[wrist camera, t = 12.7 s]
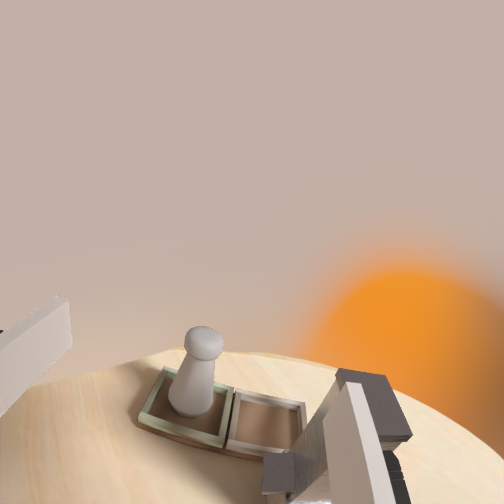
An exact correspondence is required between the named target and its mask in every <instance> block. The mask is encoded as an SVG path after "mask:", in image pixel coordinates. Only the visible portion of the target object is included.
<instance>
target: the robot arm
mask: <svg viewBox="0 0 504 504" xmlns="http://www.w3.org/2000/svg"><path fill="white" fill-rule="evenodd" d="M72 346H73V342H72V335H71V323H70V311H69V300H68V299H65V298H63V297H61V296H59V295H57V296H55V297H54V298H52V299H51V300H49V301H48V302H46V303H45V304H43V305H42V306H40V307H38V308H37V309H35V310H34V311H32V312H31V313H29V314H28V315H27V316H25V317H24V318H22V319H21V320H19V321H18V322H16V323H15V324H14V325H12V326H11V327H9V328H8V329H6V330H5V331H2V330H0V417H1V416H2V415H3V414H4V413H5V412H6V411H7V410H8V409H9V408H10V407H11V406H12V405H13V404H14V403H15V402H16V401H17V400H18V398H19V397H20V396H21V395H22V394H23V393H24V392H25V391H26V390H27V389H28V388H29V387H30V386H31V385H32V384H33V383H34V382H35V381H36V380H37V379H38V378H39V377H40V376H41V375H42V374H43V373H44V372H45V371H46V370H47V369H48V368H49V367H51V365H52V364H54V362H56V361H57V360H58V359H59V358H60V357H61V356H62V355H63V354H64V353H65V352H66V351H67V350H68V349H69V348H70V347H72ZM322 422H323V430H324V438H325V446H326V454H327V463H328V472H329V482H330V492H331V504H411V501H410V498H409V494H408V491H407V487H406V484H405V480H403V478H404V477H403V473H402V472H401V467H400V464H399V460H398V459H397V457H396V456H395V455H394V453H393V452H392V451H391V450H382V449H381V446H380V442H379V439H378V435H377V432H376V429H375V426H374V422H373V419H372V416H371V413H370V410H369V406H368V403H367V400H366V397H365V394H364V391H363V388H362V385H361V384H360V383H352V382H345V384H344V386H343V388H342V389H341V391H340V393H339V395H338V396H337V398H336V400H335V401H334V403H333V405H332V406H331V408H330V409H329V411H328V413H327V414H326V416H325V417H324V419H323V421H322Z"/></svg>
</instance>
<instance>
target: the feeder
mask: <svg viewBox="0 0 504 504" xmlns="http://www.w3.org/2000/svg"><path fill="white" fill-rule="evenodd" d="M335 376H336V380H335V382H334V384H333V386H332V387H331V389H330V390H329V392H328V394H327V395H326V397H325V399H324V400H323V402H322V403H321V405H320V406H319V408H318V410H317V411H316V413H315V414H314V416H313V417H312V419H311V420H310V422H309V423H308V425H307V426H306V428H305V429H304V430H303V432H302V433H301V435H300V436H299V438H298V439H297V440H296V442H295V443H294V444H293V446H292V447H291V449H284V451H283V452H282V453H264V457H263V476H262V495H267V498H266V504H331V492H330V482H329V472H328V463H327V454H326V446H325V438H324V430H323V422H322V421H323V419H324V417H325V416H326V414H327V413H328V411H329V409H330V408H331V406H332V405H333V403H334V401H335V400H336V398H337V396H338V395H339V393H340V391H341V389H342V388H343V386H344V384H345V382H352V383H360V384H361V385H362V388H363V391H364V394H365V397H366V400H367V403H368V406H369V410H370V413H371V416H372V419H373V422H374V426H375V429H376V432H377V435H378V439H379V442H380V446H381V449H382V450H391V451H392V452H393V451H394V450H395V449H396V448H397V447H398V446H399V445H400V444H401V443H402V442H407V441H408V440H409V439H410V438H411V437H412V435H413V434H412V432H411V429H410V427H409V425H408V423H407V420H406V418H405V416H404V414H403V412H402V409H401V407H400V405H399V403H398V401H397V399H396V396H395V394H394V392H393V390H392V388H391V386H390V384H389V382H388V380H387V378H386V376H385V375H378V374H372V373H366V372H360V371H354V370H348V369H342V368H339V369H338V371H337V373H336V374H335Z"/></svg>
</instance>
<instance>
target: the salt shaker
mask: <svg viewBox="0 0 504 504" xmlns="http://www.w3.org/2000/svg"><path fill="white" fill-rule="evenodd" d="M223 344H224V343H223V338H222V337H221V336H220V334H219V333H218V332H217V331H215V330H214V329H212V328H209V327H205V326H198V327H194V328H191V329H190V330H189V331H188V332H187V334H186V336H185V343H184V347H185V350H186V351H187V354H186V356H185V358H184V360H183V362H182V364H181V366H180V368H179V370H178V372H177V374H176V376H175V378H174V380H173V382H172V385H171V387H170V389H169V394H168V399H169V401H170V403H171V405H172V407H173V409H174V410H175V411H176V412H177V413H178V414H179V415H180V417H183V418H190V419H196V418H197V417H198V416H200V415H202V414H203V413H205V412H207V411H208V410H209V408H210V407H211V405H212V403H213V387H214V368H215V359H217V358H218V356H219V355H220V354H221V353H222V350H223Z"/></svg>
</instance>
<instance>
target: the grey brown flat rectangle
mask: <svg viewBox="0 0 504 504" xmlns="http://www.w3.org/2000/svg"><path fill="white" fill-rule="evenodd" d="M177 372H178V370H175V369H172V368H169V367H166V366H164V367H163V369H162V371H161V373H160V375H159V377H158V379H157V381H156V383H155V384H154V386H153V388H152V390H151V392H150V394H149V396H148V398H147V400H146V402H145V404H144V406H143V408H142V410H141V412H140V414H139V415H138V420H137V422H136V427H139V428H141V429H144V430H146V431H149V432H152V433H154V434H157V435H160V436H163V437H166V438H169V439H172V440H175V441H178V442H181V443H184V444H187V445H191V446H194V447H198V448H201V449H205V450H209V451H213V452H217V453H221V454H225V455H230V456H234V457H239V458H244V459H249V460H255V461H261V462H263V457H264V453H282V452H283V451H284V449H291V447H292V446H293V444H294V443H295V442H296V440H297V439H298V438H299V436H300V435H301V433H302V432H303V430H304V429H305V428H306V426H307V416H306V407H305V403H304V402H298V401H293V400H288V399H282V398H277V397H273V396H268V395H263V394H259V393H255V392H250V391H246V390H242V389H238V388H237V389H236V391H235V393H233V391H234V387H231V386H227V385H223V384H220V383H216V382H214V387H213V403H212V405H211V407H210V408H209V410H208V411H207V412H205V413H203V414H202V415H200V416H198V417H197V418H196V419H190V418H183V417H180V415H179V414H178V413H177V412H176V411H175V410H174V409H173V407H172V405H171V403H170V401H169V399H168V394H169V389H170V387H171V385H172V382H173V380H174V378H175V376H176V374H177Z"/></svg>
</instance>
